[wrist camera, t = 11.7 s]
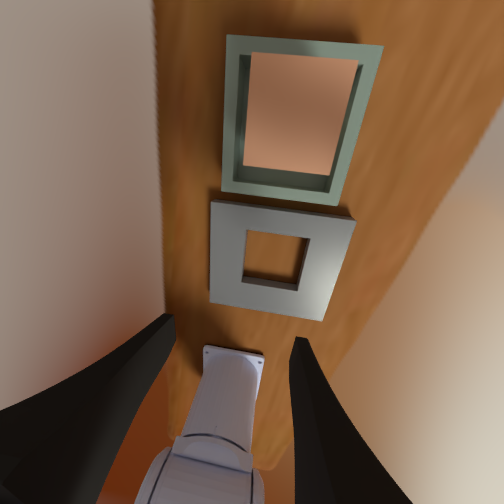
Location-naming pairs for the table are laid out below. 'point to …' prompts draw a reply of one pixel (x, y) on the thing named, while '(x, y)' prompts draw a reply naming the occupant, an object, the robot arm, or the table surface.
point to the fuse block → (296, 111)
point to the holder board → (267, 291)
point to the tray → (235, 118)
